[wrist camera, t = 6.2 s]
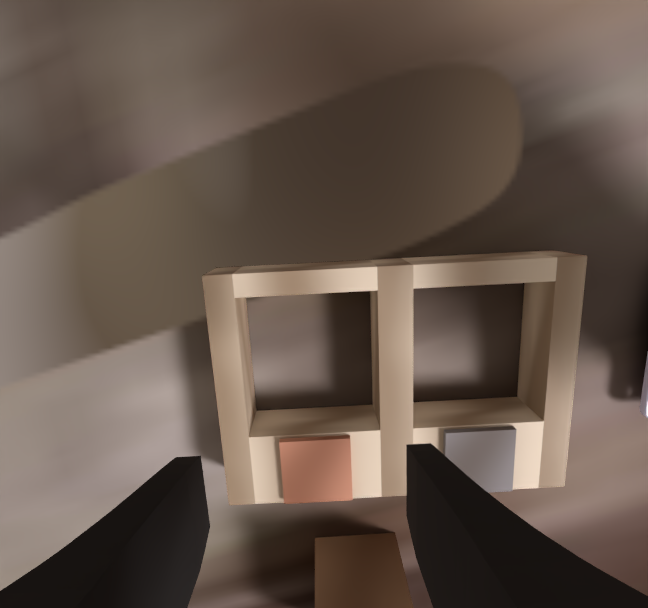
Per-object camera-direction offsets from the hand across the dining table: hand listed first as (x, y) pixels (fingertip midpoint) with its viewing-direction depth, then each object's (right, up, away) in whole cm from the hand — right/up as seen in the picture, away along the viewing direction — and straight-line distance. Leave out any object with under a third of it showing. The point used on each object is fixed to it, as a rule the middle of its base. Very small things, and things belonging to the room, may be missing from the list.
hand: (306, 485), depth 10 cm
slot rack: (+4, +1, +10) cm, 11 cm away
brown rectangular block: (+2, -9, +10) cm, 14 cm away
